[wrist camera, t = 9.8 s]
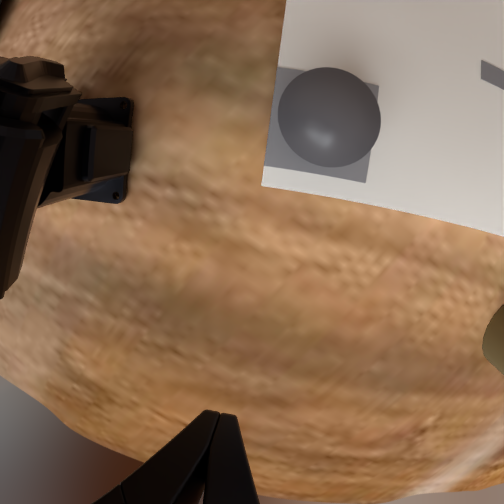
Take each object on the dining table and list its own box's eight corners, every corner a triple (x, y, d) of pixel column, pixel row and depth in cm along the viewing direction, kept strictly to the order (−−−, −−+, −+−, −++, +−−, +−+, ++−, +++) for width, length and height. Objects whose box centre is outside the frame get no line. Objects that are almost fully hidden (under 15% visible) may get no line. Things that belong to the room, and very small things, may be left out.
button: (275, 157, 15) (271, 158, 12) (286, 76, 14) (284, 59, 11) (358, 171, 15) (372, 176, 12) (369, 91, 13) (385, 79, 10)
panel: (265, 181, 18) (260, 187, 15) (299, -75, 12) (299, -97, 9) (530, 241, 16) (552, 252, 14) (542, 15, 10) (560, 8, 8)
